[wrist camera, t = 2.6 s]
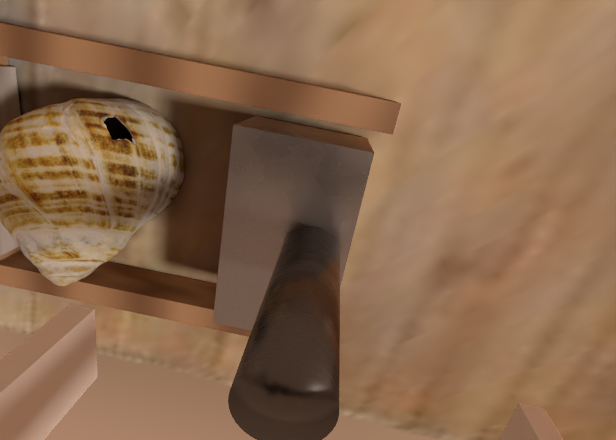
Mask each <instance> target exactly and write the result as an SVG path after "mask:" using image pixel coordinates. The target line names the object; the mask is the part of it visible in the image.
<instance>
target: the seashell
mask: <svg viewBox="0 0 616 440" xmlns="http://www.w3.org/2000/svg"><path fill="white" fill-rule="evenodd" d="M113 117H116V118H117V119H118V120H119V121H120V122H121V123H122V124H123V125H124V126H125V127H126V128H127V129H128V130H129V132H130V133H131V135H132V141H133V142H131V141H129V140H128V139H117V140H112V138H111V136H110V134H109V131H108V130H107V126H106V125H105V124H104V121H105V120H106V119H107V118H113ZM184 174H185V161H184V157H183V147H182V143H181V140H180V138H179V136H178V134H177V132H176V130H175V129H174V128H173V126H172V125H171V124H170V122H169V121H168V120H167V119H166V118H165V117H164V116H163V115H161V114H160V113H159V112H158V111H156V110H154V109H153V108H151V107H149V106H147V105H145V104H143V103H141V102H138V101H135V100H130V99H123V98H109V99H102V98H98V99H94V98H75V99H70V100H69V101H68V102H65V103H60V104H52V105H49V106H45V107H42V108H39V109H35V110H32V111H30V112H27V113H25V114H23V115H21V116H19V117H17V118H15V119H12V120H11V121H10V122H8V123H7V124H6V125H5V126H4V127H3V129H2V131H1V133H0V221H1V223H2V225H3V226H4V227H5V228H6V229H7V231H8V232H9V233H10V235H11V236H12V237H13V238H14V239H15V240H16V241H17V242H18V245H19V247H20V249H21V250H22V252H23V254H24V256H26V257H27V258H28V259H29V260H30V261H31V262H32V264H33V265H35V266H36V267H37V268H38V269H39V271H40V273H41V274H42V275H43V276H44V277H46V278H47V279H49V280H50V281H51V282H52V283H54V284H56V285H58V286H66V285H68V284H71V283H74V282H76V281H78V280H80V279H82V278H85V277H86V276H88V275H89V274H91V273H92V272H93V271H94V270H95V269H96V268H97V267H98V266H99V265H101V264H102V263H105V262H107V261H108V260H110V259H111V258H112V257H114V256H115V255H116V254H117V253H119V252H120V251H121V250H122V249H123V248H124V247H125V246H126V244H127V243H128V241H129V239H130V238H131V236H132V234H134V233H135V232H136V231H137V230H138V229H139V228H140V227H141V226H142V225H143V224H144V223H146V222H148V221H150V220H151V219H153V218H154V217H156V216H157V215H158V214H159V213H160V212H161V211H162V210H163V209H164V208H166V207H167V206H168V205H169V204H170V203H171V202H172V200H173V199H174V198H175V196H176V194H177V193H178V191H179V189H180V188H181V185H182V182H183V179H184Z"/></svg>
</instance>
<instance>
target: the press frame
mask: <svg viewBox="0 0 616 440" xmlns="http://www.w3.org/2000/svg"><path fill="white" fill-rule="evenodd" d="M8 57H11V58H16V59H21V60H26V61H31V62H36V63H40V64H45V65H50V66H55V67H60V68H65V69H70V70H75V71H80V72H85V73H90V74H95V75H100V76H105V77H110V78H115V79H120V80H125V81H130V82H135V83H140V84H145V85H150V86H155V87H160V88H165V89H169V90H174V91H179V92H184V93H189V94H194V95H199V96H204V97H209V98H214V99H219V100H224V101H229V102H234V103H239V104H244V105H249V106H254V107H259V108H264V109H269V110H274V111H279V112H284V113H289V114H293V115H298V116H303V117H308V118H313V119H318V120H323V121H328V122H333V123H338V124H343V125H348V126H353V127H358V128H363V129H368V130H373V131H378V132H383V133H388V134H393V132H394V128H395V124H396V121H397V117H398V113H399V109H400V106H401V103H398V102H395V101H391V100H386V99H381V98H376V97H371V96H366V95H361V94H356V93H351V92H346V91H341V90H336V89H331V88H326V87H321V86H316V85H311V84H306V83H301V82H296V81H291V80H286V79H281V78H276V77H271V76H266V75H261V74H256V73H251V72H246V71H241V70H236V69H231V68H226V67H221V66H216V65H211V64H206V63H201V62H196V61H191V60H186V59H181V58H176V57H171V56H166V55H161V54H156V53H151V52H146V51H141V50H136V49H132V48H127V47H122V46H117V45H112V44H107V43H102V42H97V41H92V40H87V39H82V38H77V37H72V36H67V35H62V34H57V33H52V32H47V31H42V30H37V29H32V28H27V27H22V26H17V25H12V24H7V23H2V22H0V133H1V131H2V129H3V127H4V126H5V125H6V124H7V123H8V122H10V121H11V120H12V119H15V118H17V117H19V116H21V113H20V104H19V95H18V87H17V78H16V69H15V67H12V66H9V63H8ZM0 284H2V285H7V286H12V287H16V288H21V289H26V290H31V291H35V292H40V293H45V294H50V295H54V296H59V297H64V298H68V299H73V300H78V301H83V302H87V303H92V304H97V305H102V306H106V307H111V308H116V309H121V310H125V311H130V312H135V313H140V314H144V315H149V316H154V317H158V318H163V319H168V320H173V321H177V322H182V323H187V324H192V325H196V326H201V327H206V328H211V329H215V330H220V331H225V332H230V333H234V334H239V335H244V336H249V337H250V334H251V331H250V330H246V329H241V328H236V327H231V326H227V325H222V324H217V323H213V315H214V305H215V296H216V286H217V284H213V283H208V282H204V281H199V280H194V279H189V278H184V277H180V276H175V275H170V274H165V273H161V272H156V271H151V270H146V269H141V268H137V267H132V266H127V265H122V264H118V263H113V262H108V261H107V262H105V263H102V264H101V265H99V266H98V267H97V268H96V269H95V270H94V271H93V272H92V273H91V274H89V275H88V276H86V277H85V278H82V279H80V280H78V281H76V282H74V283H71V284H68V285H66V286H58V285H56V284H54V283H52V282H51V281H50V280H49V279H47V278H46V277H44V276H43V275H42V274H41V273H40V271H39V269H38V268H37V267H36V266H35V265H33V264H32V262H31V261H30V260H29V259H28V258H27V257H26V256H24V254H23V252H22V250H21V249H20V247H19V245H18V242H17V241H16V240H15V239H14V238H13V237H12V236H11V235H10V233H9V232H8V231H7V229H6V228H5V227H4V226H3V225H2V223H1V221H0Z"/></svg>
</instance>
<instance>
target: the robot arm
mask: <svg viewBox="0 0 616 440" xmlns="http://www.w3.org/2000/svg"><path fill="white" fill-rule="evenodd" d="M96 378H97V353H96V330H95V309H91V308H87V307H82V306H77V305H73V304H70V305H69V306H68V307H66V308H65V309H64V310H62V311H61V312H60V313H59V314H57V315H56V316H55V317H54V318H52V319H51V320H50V321H49V322H47V323H46V324H45V325H44V326H42V327H41V328H40V329H39V330H37V331H36V332H35V333H33V334H32V335H31V336H30V337H28V338H27V339H26V340H25V341H23V342H22V343H21V344H20V345H18V346H17V347H16V348H15V349H13V350H12V351H11V352H9V353H8V354H7V355H6V356H4V357H3V358H2V359H1V360H0V440H44V439H45V438H46V437H47V435H48V434H49V433H50V432H51V431H52V430H53V428H54V427H55V426H56V425H57V424H58V422H59V421H60V420H61V419H62V418H63V417H64V416H65V414H66V413H67V412H68V411H69V410H70V409H71V407H72V406H73V405H74V404H75V403H76V401H77V400H78V399H79V398H80V397H81V396H82V394H83V393H84V392H85V391H86V390H87V389H88V387H89V386H90V385H91V384H92V383H93V382H94V380H95V379H96ZM499 440H564V439H563V438H562V436H561V435H560V433H559V431H558V430H557V428H556V426H555V425H554V423H553V422H552V420H551V418H550V417H549V415H548V414H547V412H546V410H545V409H544V408H540V407H535V406H531V405H526V404H522V403H518V405H517V407H516V409H515V411H514V413H513V414H512V416H511V418H510V420H509V422H508V424H507V425H506V427H505V429H504V431H503V433H502V435H501V436H500V438H499Z"/></svg>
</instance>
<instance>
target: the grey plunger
mask: <svg viewBox="0 0 616 440" xmlns="http://www.w3.org/2000/svg"><path fill="white" fill-rule="evenodd" d="M373 155H374V152H373V150H372V147H371V145H370V143H369V141H368V139H367V138H364V137H359V136H354V135H349V134H344V133H339V132H334V131H329V130H324V129H319V128H314V127H309V126H304V125H299V124H294V123H290V122H285V121H280V120H275V119H270V118H265V117H260V116H254V117H252V118H249V119H246V120H244V121H241V122H238V123H236V124H233V132H232V142H231V151H230V161H229V171H228V180H227V190H226V200H225V209H224V219H223V228H222V238H221V248H220V257H219V267H218V277H217V286H216V296H215V305H214V315H213V323H217V324H222V325H227V326H231V327H236V328H241V329H246V330H250V331H251V334H250V337H249V340H248V342H247V345H246V348H245V351H244V353H243V356H242V359H241V362H240V364H239V367H238V370H237V373H236V375H235V378H234V381H233V384H232V387H231V389H230V393H229V400H228V402H229V409H230V412H231V415H232V417H233V418H234V420H235V422H236V423H237V424H238V425H239V426H240V428H242V429H243V430H244V431H245V432H246V433H247V434H249V435H250V436H252V437H253V438H255V439H257V440H322V439H323V438H325V437H326V436H327V435H328V434H329V433H330V432H331V431H332V430H333V428H334V427H335V425H336V423H337V420H338V416H339V341H340V285H341V281H342V277H343V273H344V269H345V265H346V261H347V257H348V253H349V249H350V245H351V242H352V238H353V234H354V230H355V226H356V222H357V218H358V214H359V210H360V206H361V202H362V199H363V195H364V191H365V187H366V183H367V179H368V175H369V171H370V167H371V163H372V159H373Z"/></svg>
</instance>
